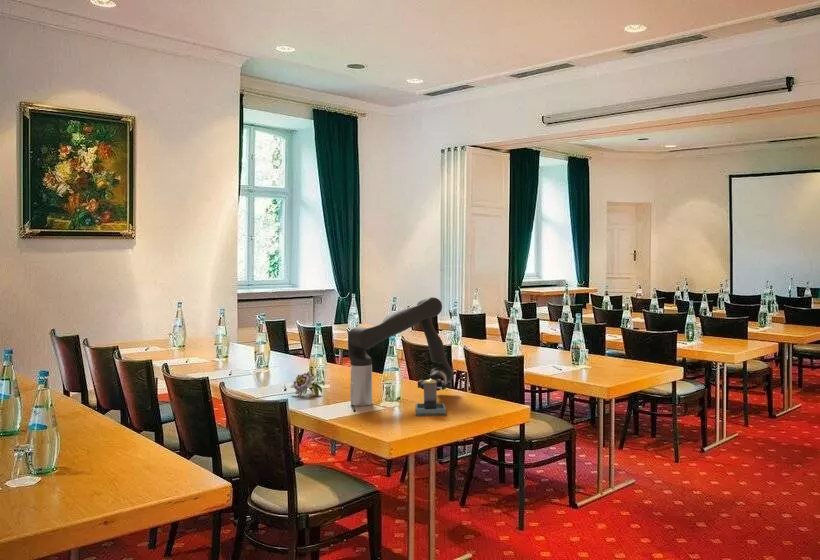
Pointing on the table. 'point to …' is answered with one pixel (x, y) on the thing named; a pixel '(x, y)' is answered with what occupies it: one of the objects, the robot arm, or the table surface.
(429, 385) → the block
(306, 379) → the passion flower
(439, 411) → the tray
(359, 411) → the table surface
